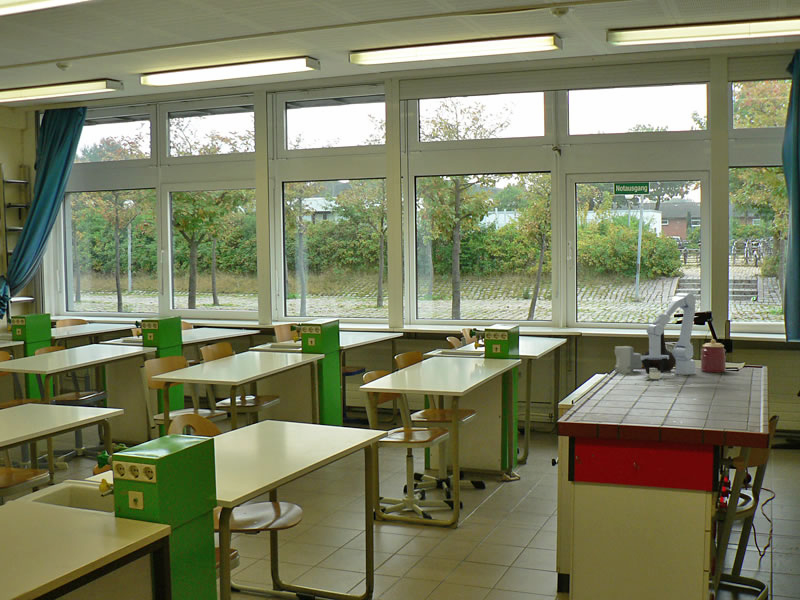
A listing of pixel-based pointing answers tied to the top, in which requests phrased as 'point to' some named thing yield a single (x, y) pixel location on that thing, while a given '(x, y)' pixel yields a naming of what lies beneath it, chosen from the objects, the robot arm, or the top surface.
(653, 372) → the slider
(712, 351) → the canister
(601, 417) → the top surface
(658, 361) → the glass bottle
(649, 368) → the slider
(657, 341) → the robot arm
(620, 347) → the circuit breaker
